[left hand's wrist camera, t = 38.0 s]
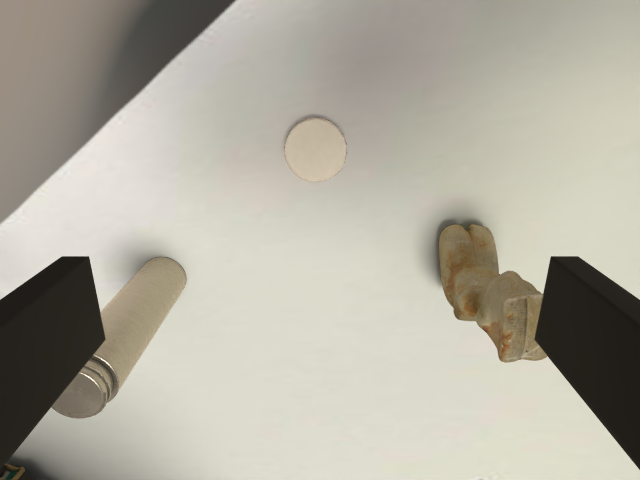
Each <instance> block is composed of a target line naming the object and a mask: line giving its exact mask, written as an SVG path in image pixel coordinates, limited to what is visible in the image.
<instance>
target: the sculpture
mask: <svg viewBox="0 0 640 480" xmlns="http://www.w3.org/2000/svg"><path fill="white" fill-rule="evenodd" d="M439 258H440V268H441V282H442V285H443V290H444V293H445V296H446V298H447V300H448V302H449V303H450V305H451V306H452V307H453V308H454V315H455V317H456V318H457V319H458V320H463V321H476V322H477V324H478V325H479V327H481V328H482V329H483V330H484V331H485V332H486V333H487V334H488V335H489V337H490V338H491V339H492V341H493V342H494V344H495V346H496V347H497V349H498V356H499V359H500V360H501V361H502V362H505V363H506V362H514V361H517V360H520V359H525V360H534V361H536V360H542V359H544V358H546V357H547V355H546V353H545V352H544V351H543V350H542V348H541V347H540V346H539V345H538V344H537V342H536V341H535V340H534V338H535V333H536V328H537V323H538V319H539V314H540V309H541V304H542V299H543V294H541V293H540V292H539V291H537V290H536V288H535V287H534V286H533V285H532V284H530V283H529V282H527V281H525V280H523V279H522V278H521V277H520V276H519V275H518V274H517V273H516V272H514V271H506V272H504V273H503V274H501V275H500V274H499V267H498V258H497V252H496V246H495V242H494V238H493V236H492V233H491V231H490V230H489V229H488V228H487V227H484V226H479V225H474V224H472V225H470V226H469V227H468V229H467V230H465V229H464V228H463V227H462V226H461V225H456V224H454V225H450V226H448V227H446V228H445V229H444V230H443V231H442V233H441V235H440V240H439Z"/></svg>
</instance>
